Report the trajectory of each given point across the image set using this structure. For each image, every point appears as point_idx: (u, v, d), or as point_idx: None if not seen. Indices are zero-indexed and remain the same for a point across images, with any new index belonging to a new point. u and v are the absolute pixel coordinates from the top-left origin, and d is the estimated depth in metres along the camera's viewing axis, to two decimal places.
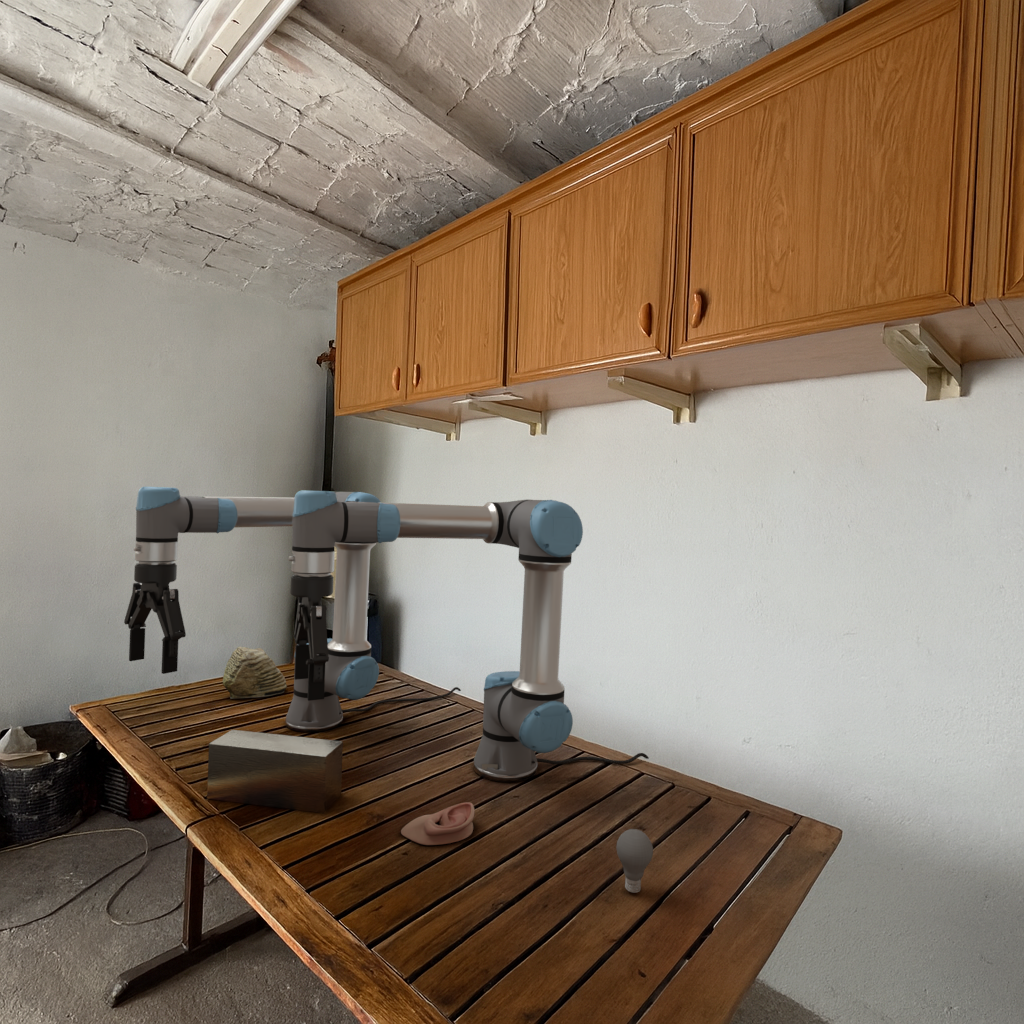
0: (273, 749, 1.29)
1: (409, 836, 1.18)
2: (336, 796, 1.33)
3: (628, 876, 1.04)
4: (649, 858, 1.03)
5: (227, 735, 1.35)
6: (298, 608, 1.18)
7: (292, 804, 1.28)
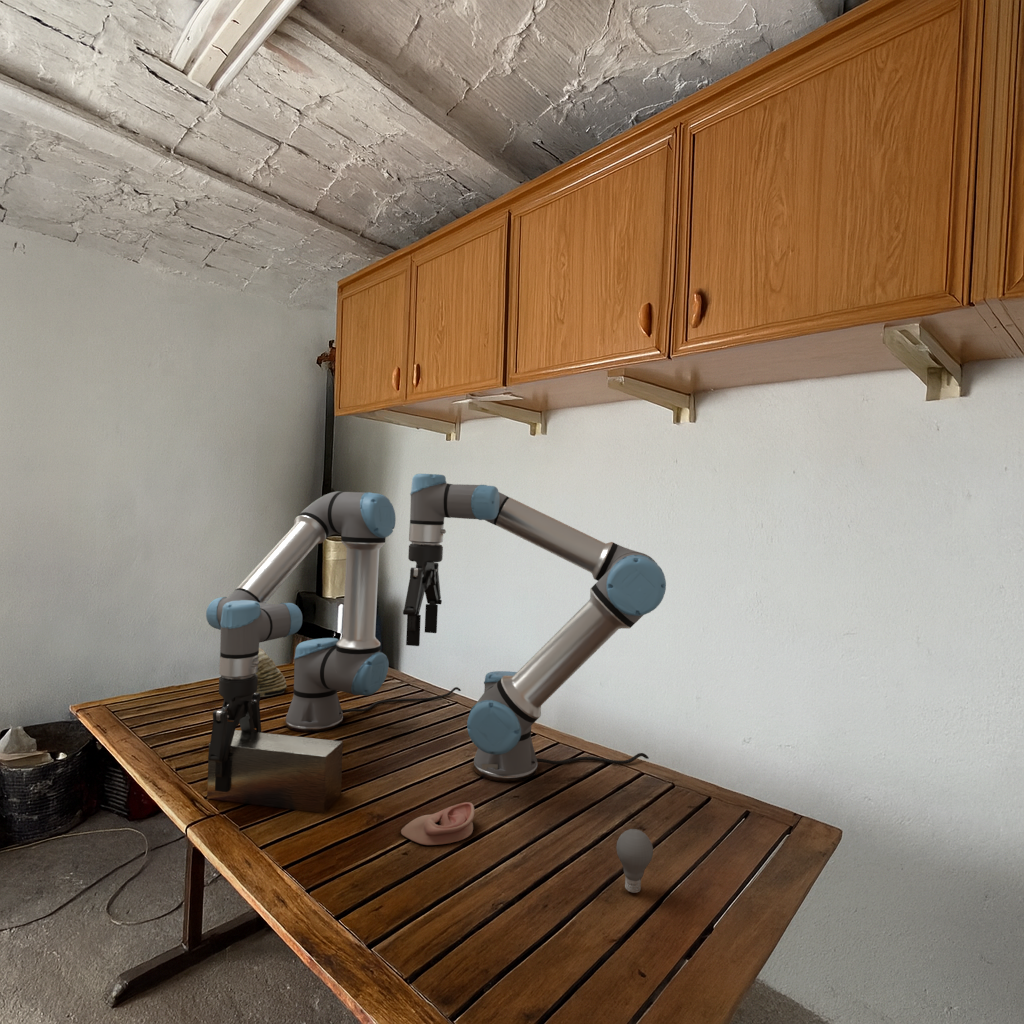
0: (273, 749, 1.29)
1: (409, 836, 1.18)
2: (336, 796, 1.33)
3: (628, 876, 1.04)
4: (649, 858, 1.03)
5: None
6: (430, 574, 1.38)
7: (292, 804, 1.28)
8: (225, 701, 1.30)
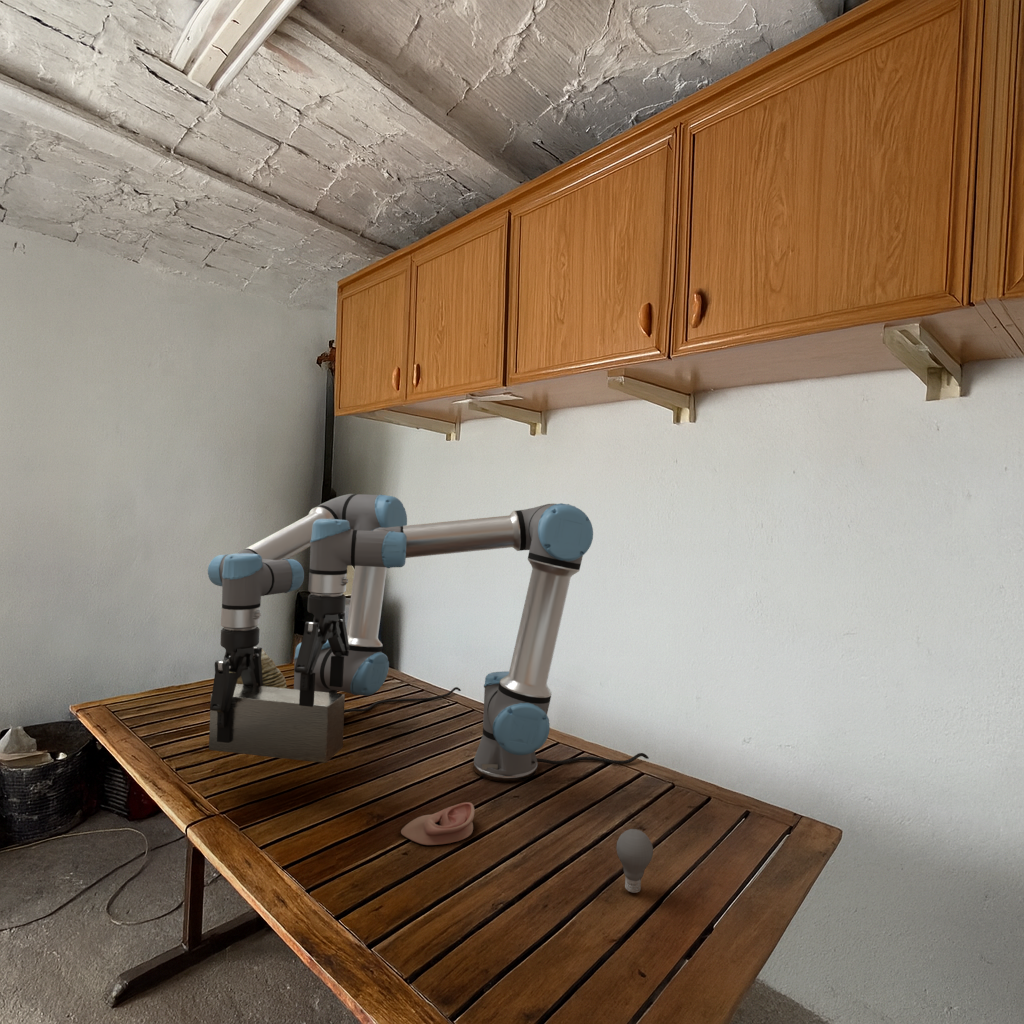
0: (275, 700, 1.29)
1: (409, 836, 1.18)
2: (338, 748, 1.33)
3: (628, 876, 1.04)
4: (649, 858, 1.03)
5: None
6: (330, 627, 1.29)
7: (294, 754, 1.28)
8: (227, 652, 1.30)
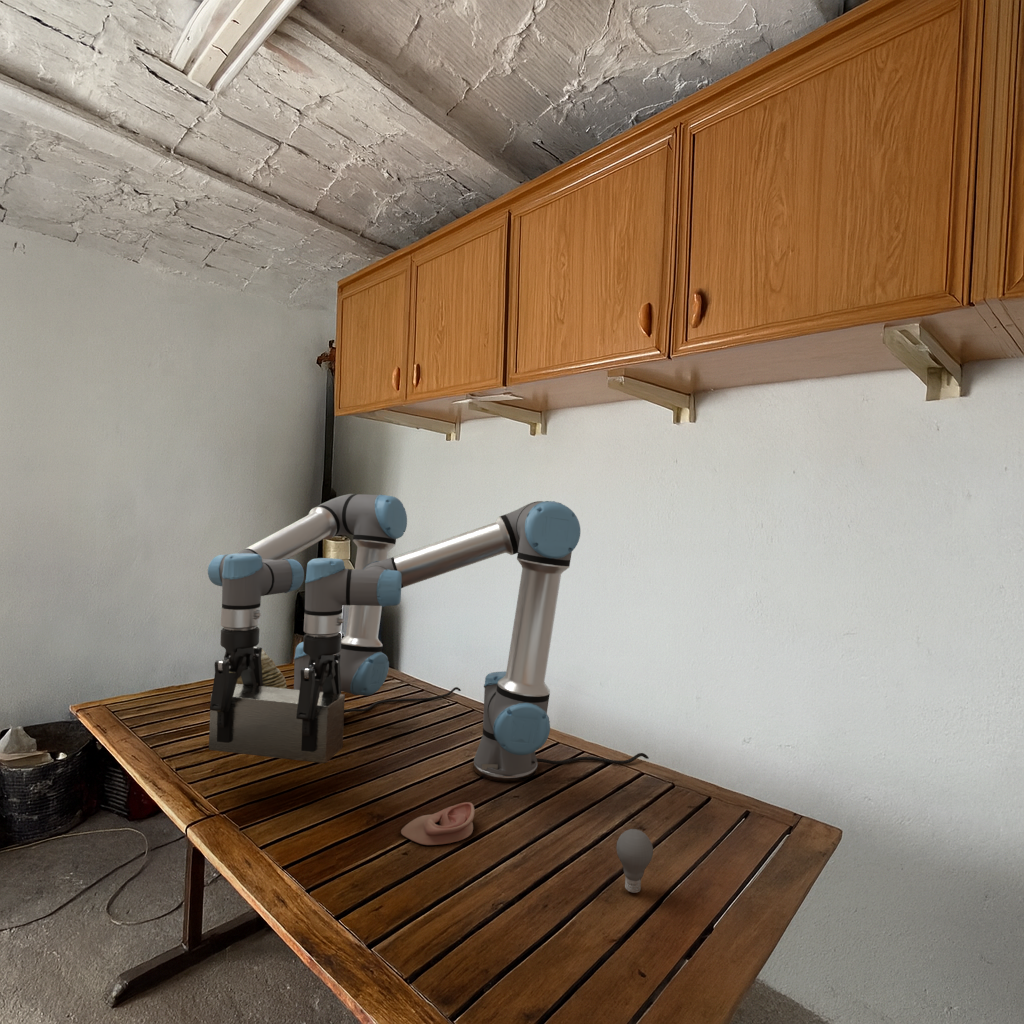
0: (275, 700, 1.29)
1: (409, 836, 1.18)
2: (338, 748, 1.33)
3: (628, 876, 1.04)
4: (649, 858, 1.03)
5: None
6: (326, 669, 1.29)
7: (293, 754, 1.28)
8: (227, 652, 1.30)
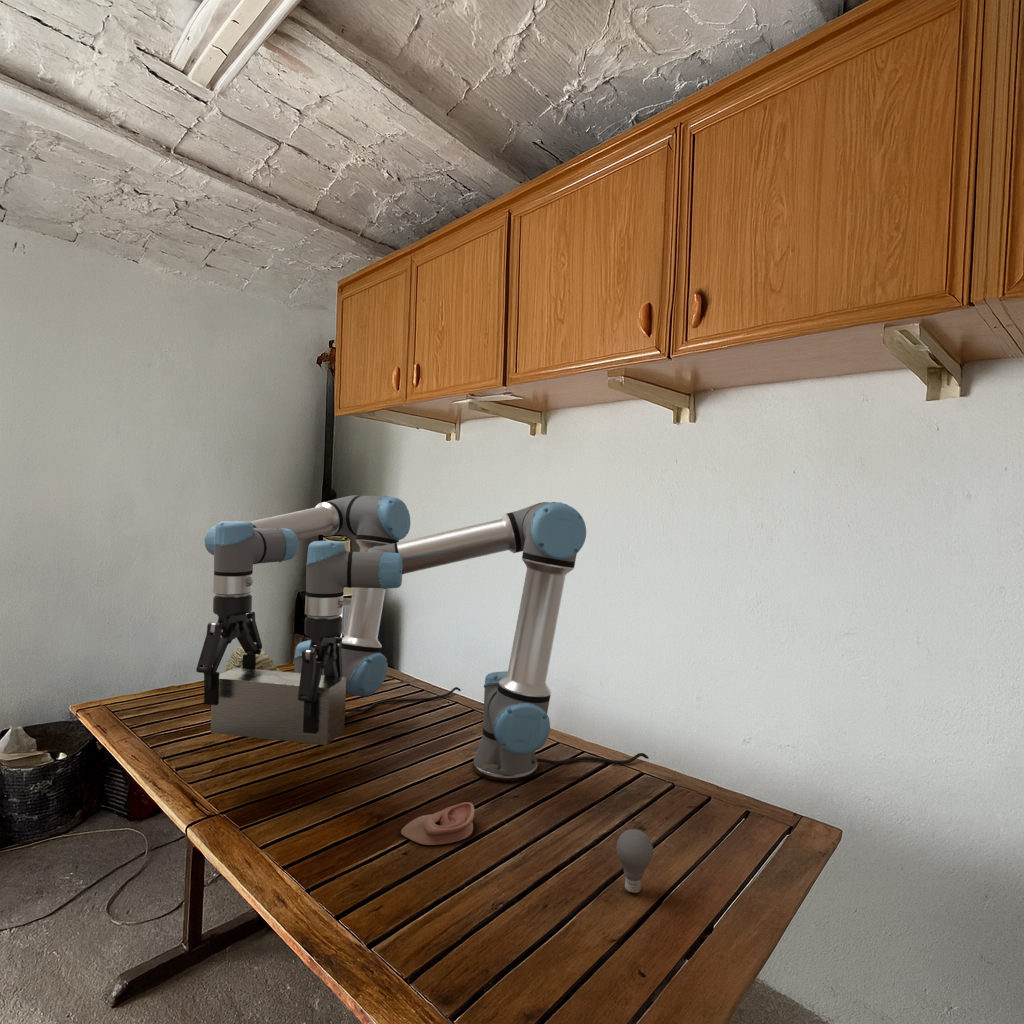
0: (276, 682, 1.29)
1: (409, 836, 1.18)
2: (339, 731, 1.32)
3: (628, 876, 1.04)
4: (649, 858, 1.03)
5: (231, 671, 1.35)
6: (327, 651, 1.29)
7: (295, 736, 1.28)
8: (220, 619, 1.30)
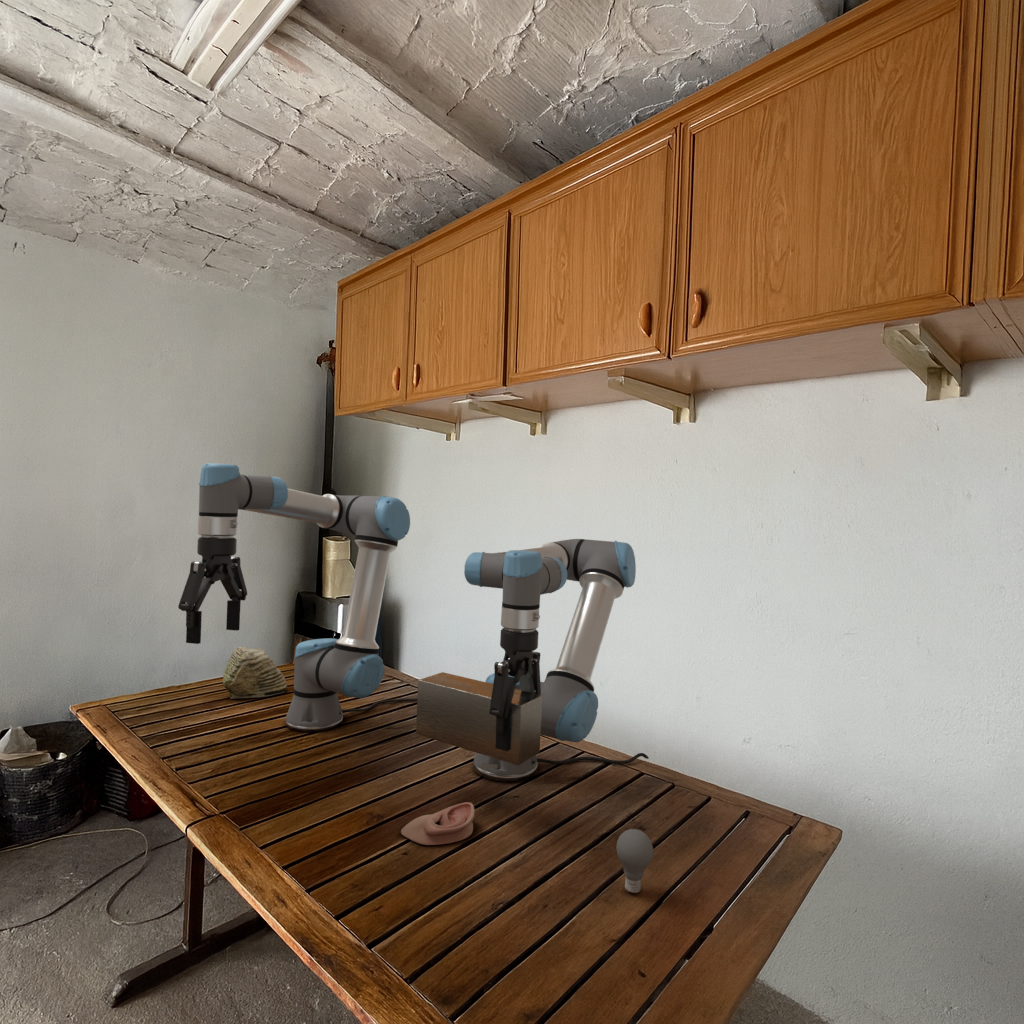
0: (473, 692, 1.27)
1: (409, 836, 1.18)
2: (534, 752, 1.25)
3: (628, 876, 1.04)
4: (649, 858, 1.03)
5: (436, 676, 1.37)
6: (521, 666, 1.23)
7: (488, 750, 1.24)
8: (203, 559, 1.31)
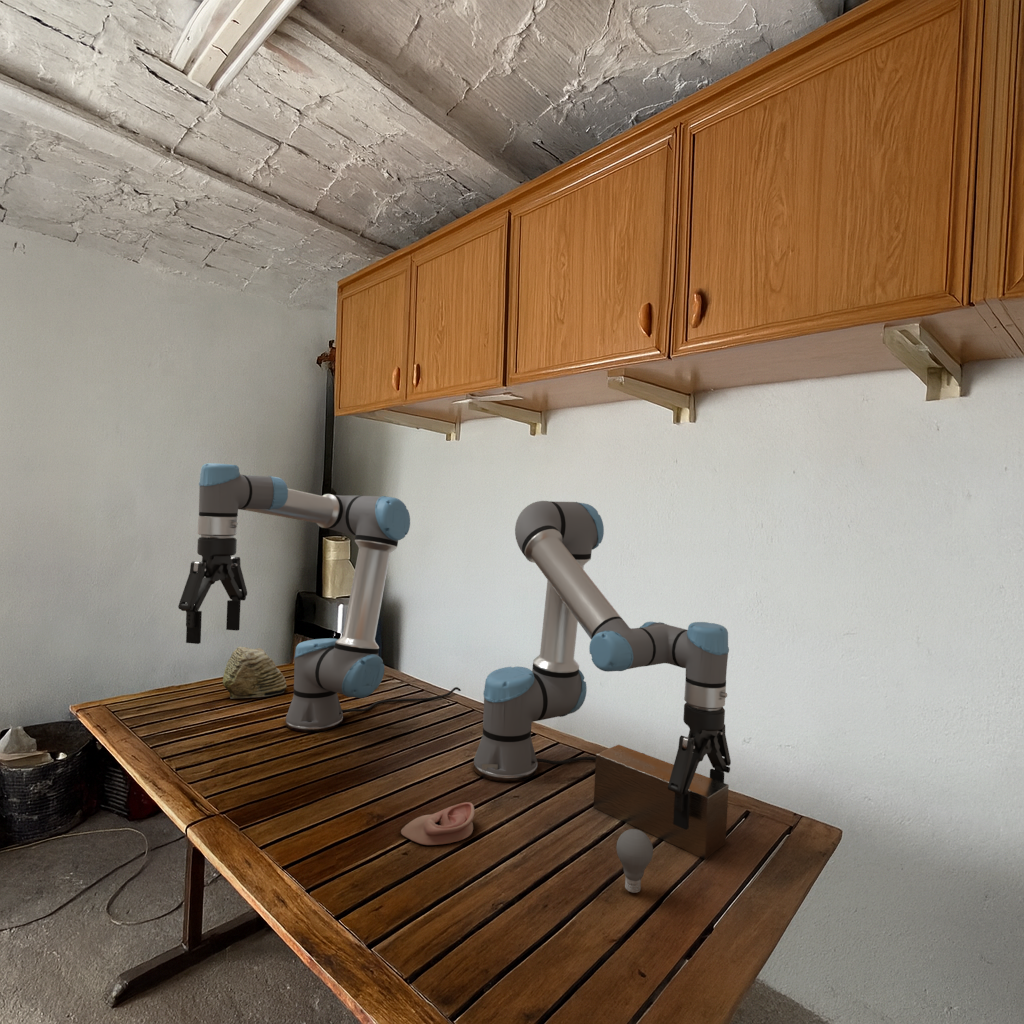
0: (654, 775, 1.25)
1: (409, 836, 1.18)
2: (720, 844, 1.20)
3: (628, 876, 1.04)
4: (649, 858, 1.03)
5: (613, 749, 1.37)
6: (707, 744, 1.19)
7: (672, 838, 1.21)
8: (203, 559, 1.31)
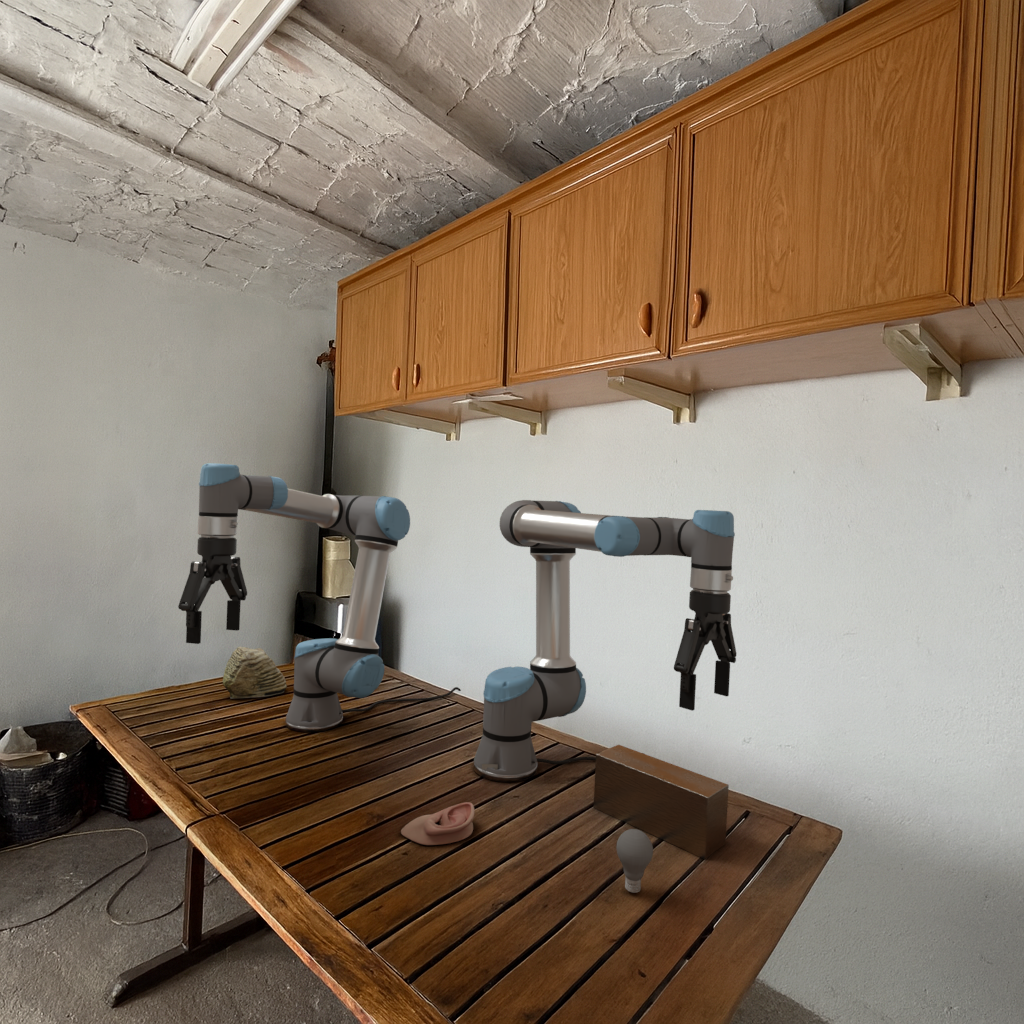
0: (654, 775, 1.25)
1: (409, 836, 1.18)
2: (720, 844, 1.20)
3: (628, 876, 1.04)
4: (649, 858, 1.03)
5: (613, 749, 1.37)
6: (713, 628, 1.18)
7: (672, 838, 1.21)
8: (203, 559, 1.31)
